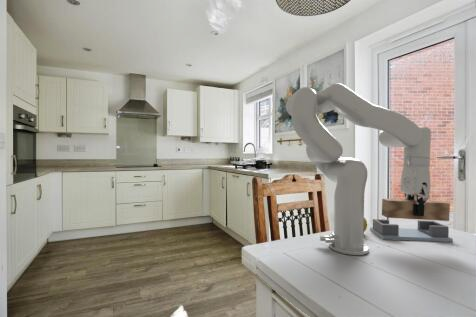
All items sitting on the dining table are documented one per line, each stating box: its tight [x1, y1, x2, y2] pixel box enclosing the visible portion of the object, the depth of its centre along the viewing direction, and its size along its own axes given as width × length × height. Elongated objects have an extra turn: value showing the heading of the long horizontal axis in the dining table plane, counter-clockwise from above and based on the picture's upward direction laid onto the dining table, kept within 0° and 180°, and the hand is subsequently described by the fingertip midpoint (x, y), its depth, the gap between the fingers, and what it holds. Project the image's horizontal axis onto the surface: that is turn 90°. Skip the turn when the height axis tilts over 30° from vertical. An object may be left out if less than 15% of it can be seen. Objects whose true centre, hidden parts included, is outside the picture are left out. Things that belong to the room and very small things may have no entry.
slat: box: [381, 198, 451, 222], centre depth 89 cm, size 20×4×6 cm, turn 84°
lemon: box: [364, 217, 368, 232], centre depth 104 cm, size 6×6×8 cm
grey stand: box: [369, 218, 454, 243], centre depth 102 cm, size 25×12×5 cm, turn 84°
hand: (414, 213), depth 89 cm, fingers closed on slat, 4 cm apart
